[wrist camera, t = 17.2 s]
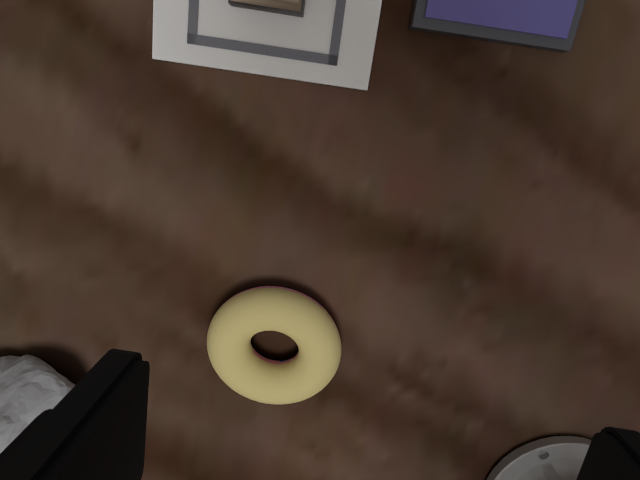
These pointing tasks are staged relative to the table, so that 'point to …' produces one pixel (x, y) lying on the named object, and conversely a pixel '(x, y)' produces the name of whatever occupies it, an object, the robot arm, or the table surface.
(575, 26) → the ink pad
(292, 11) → the beige cardboard box
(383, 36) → the table surface
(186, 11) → the sheet
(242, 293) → the donut
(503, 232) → the table surface
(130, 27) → the table surface
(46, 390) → the decorative stone
